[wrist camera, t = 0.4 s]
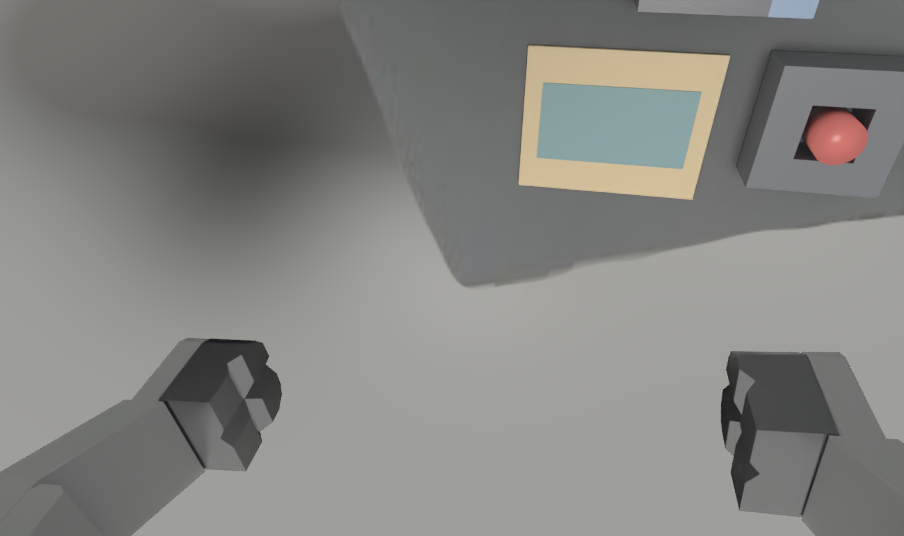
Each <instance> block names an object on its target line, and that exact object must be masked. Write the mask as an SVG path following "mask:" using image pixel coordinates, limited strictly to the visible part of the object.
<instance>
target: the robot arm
mask: <svg viewBox="0 0 904 536" xmlns="http://www.w3.org/2000/svg"><path fill="white" fill-rule="evenodd" d="M268 358H269V355H268V353H267V351H266V348H265V346H264V345H263V343H261V342H258V341H251V340H230V339H199V338H187V339H184V340H182V341H180V342H179V343H178V344H177V345H176V346H175V348H174V349H173V350H172V351H171V353H170V354H169V355H168V356H167V357H166V358H165V360H164V361H163V362H162V363H161V365H160V366H159V367H158V368H157V369H156V371H155V372H154V373H153V375H152V376H151V377H150V378H149V379H148V380H147V382H146V383H145V384H144V385H143V387H142V388H141V389H140V390H139V391H138V393H137V394H136V395H135V396H134V398H133V399H132V400H123V401H121V402H120V403H118V404H117V405H115V406H113V407H111V408H109V409H108V410H106V411H104V412H103V413H101V414H99V415H97V416H96V417H94V418H92V419H90V420H89V421H87V422H85V423H84V424H82V425H80V426H78V427H77V428H75V429H73V430H71V431H70V432H68V433H66V434H65V435H63V436H61V437H59V438H58V439H56V440H54V441H53V442H51V443H49V444H47V445H46V446H44V447H42V448H40V449H39V450H37V451H35V452H34V453H32V454H30V455H29V456H27V457H25V458H23V459H22V460H20V461H18V462H16V463H15V464H13V465H11V466H10V467H8V468H6V469H4V470H3V471H1V472H0V536H131V535H132V534H133V533H135V532H136V531H137V530H138V529H139V528H140V527H142V526H143V525H144V524H145V523H146V522H147V521H148V520H149V519H150V518H152V517H153V516H154V515H155V514H157V513H158V512H159V511H160V510H161V509H162V508H163V507H165V506H166V505H167V504H168V503H169V502H170V501H172V500H173V499H174V498H175V497H176V496H177V495H179V494H180V493H181V492H182V491H183V490H184V489H185V488H186V487H188V486H189V485H190V484H191V483H192V482H194V481H195V480H196V479H197V478H198V477H199V476H200V475H202V474H203V473H204V472H205V470H204V469H212V470H232V471H246V470H247V468H248V466H249V465H250V463H251V461H252V459H253V457H254V456H255V454H256V452H257V450H258V448H259V446H260V445H261V443H262V438H261V433H260V431H261V430H263V429H264V428H265V427H267V426H268V425H269V424H271V423H272V422H273V420H274V419H275V417H276V415H277V413H278V411H279V407H280V401H281V396H282V392H281V383H280V381H279V378H278V376H277V373H275V372H274V371H273V370H272V369H271V368H269V367H268V366H267V365H266V362H267V360H268ZM726 371H727V375H728V379H729V385H728V386H727V387H726V388H724V389H723V392H722V401H721V426H722V434H723V439H724V444H725V448H726V449H727V450H728V451H729V452H730V453H731V454H732V455H733V456H734V457H733V462H732V468H731V476H732V480H733V485H734V489H735V493H736V498H737V502H738V507H739V510H740V511H749V512H759V513H769V514H777V515H787V516H797V517H802V521H803V522H804V523H805V524H806V525H807V527H809V529H810V530H811V531H812V532H813V533H814V534H815V535H816V536H904V443H902V442H901V441H899V440H898V439H886V438H885V436H884V434H883V432H882V430H881V428H880V426H879V424H878V422H877V420H876V418H875V416H874V414H873V412H872V410H871V408H870V406H869V404H868V402H867V400H866V398H865V396H864V394H863V392H862V390H861V388H860V386H859V384H858V382H857V380H856V378H855V376H854V374H853V372H852V370H851V368H850V366H849V364H848V362H847V360H846V358H845V357H844V356H843V355H842V354H841V353H839V352H802V353H798V352H744V351H743V352H742V351H741V352H740V351H731V353H730V355H729V357H728V362H727V367H726Z"/></svg>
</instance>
